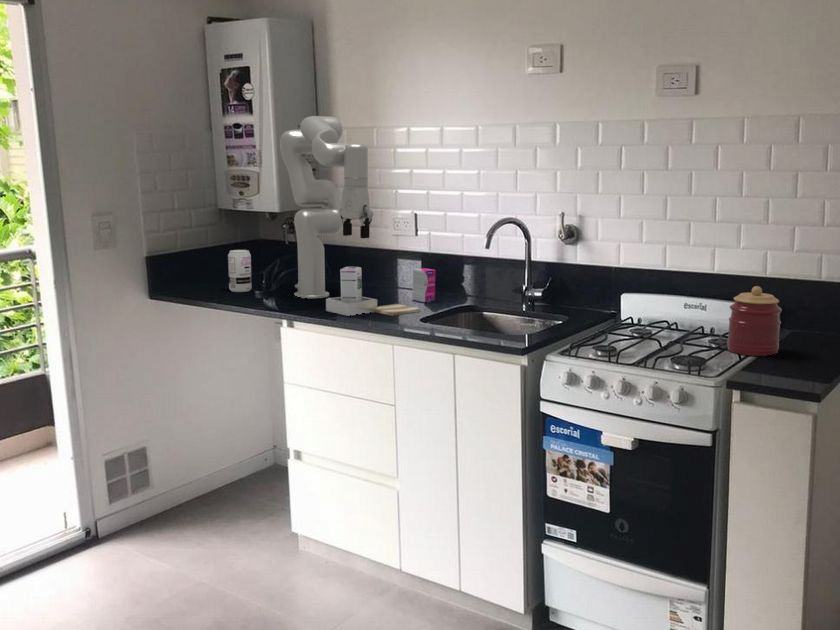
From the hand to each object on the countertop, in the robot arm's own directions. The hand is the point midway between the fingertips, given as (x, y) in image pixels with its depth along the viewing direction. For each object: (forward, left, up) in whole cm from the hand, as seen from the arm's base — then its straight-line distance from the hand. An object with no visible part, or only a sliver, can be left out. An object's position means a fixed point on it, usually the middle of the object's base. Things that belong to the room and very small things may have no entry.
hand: (356, 236), depth 287 cm
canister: (+115, +45, -25) cm, 126 cm away
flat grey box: (-5, -1, -25) cm, 25 cm away
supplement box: (0, +30, -25) cm, 39 cm away
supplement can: (-62, -7, -25) cm, 68 cm away
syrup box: (-1, -1, -25) cm, 25 cm away
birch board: (+8, +10, -25) cm, 28 cm away
